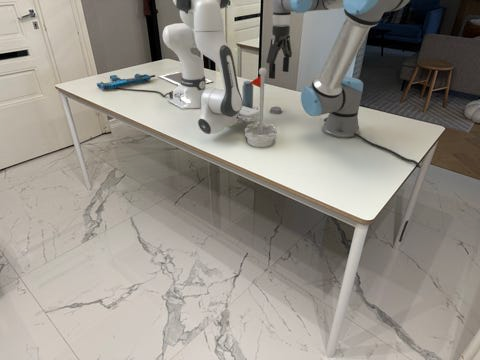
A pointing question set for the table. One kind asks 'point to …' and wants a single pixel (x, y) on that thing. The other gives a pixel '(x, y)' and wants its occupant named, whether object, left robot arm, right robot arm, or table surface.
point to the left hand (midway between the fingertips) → (248, 106)
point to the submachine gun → (123, 81)
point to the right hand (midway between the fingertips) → (278, 74)
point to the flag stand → (260, 120)
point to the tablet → (176, 78)
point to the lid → (275, 110)
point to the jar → (247, 95)
